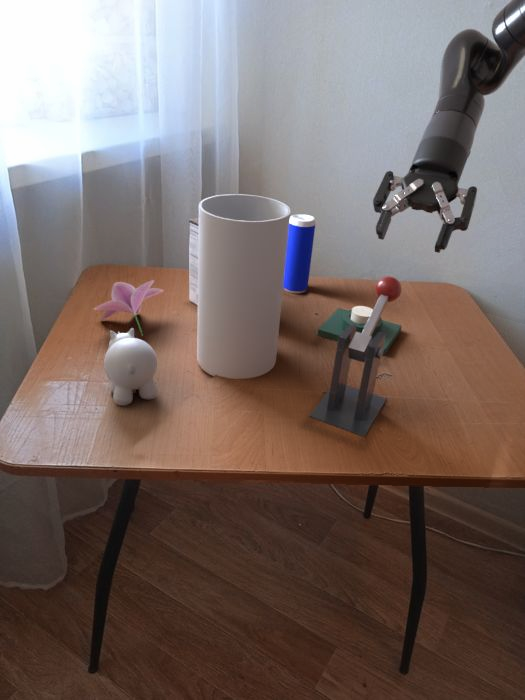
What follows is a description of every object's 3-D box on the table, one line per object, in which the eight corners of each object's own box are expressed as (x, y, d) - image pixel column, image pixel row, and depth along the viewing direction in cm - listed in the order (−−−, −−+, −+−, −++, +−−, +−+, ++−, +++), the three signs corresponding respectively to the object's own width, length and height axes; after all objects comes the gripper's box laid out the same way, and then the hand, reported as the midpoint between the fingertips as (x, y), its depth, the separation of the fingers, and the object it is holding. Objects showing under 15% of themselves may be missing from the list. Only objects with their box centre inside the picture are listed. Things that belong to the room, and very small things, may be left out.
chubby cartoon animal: (145, 359, 88) (143, 311, 84) (163, 403, 79) (162, 351, 74) (98, 365, 85) (93, 316, 81) (110, 411, 76) (106, 358, 72)
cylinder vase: (254, 393, 82) (267, 228, 69) (181, 369, 86) (181, 209, 74) (287, 355, 92) (303, 204, 79) (220, 335, 96) (225, 189, 83)
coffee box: (225, 289, 112) (228, 210, 104) (246, 300, 108) (251, 220, 100) (187, 300, 107) (188, 218, 99) (208, 313, 103) (210, 228, 95)
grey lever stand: (334, 387, 85) (346, 312, 78) (385, 405, 82) (402, 328, 76) (308, 422, 77) (319, 342, 71) (363, 442, 74) (380, 361, 68)
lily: (175, 321, 102) (157, 270, 100) (173, 327, 90) (152, 270, 88) (112, 342, 101) (93, 291, 99) (101, 351, 89) (79, 294, 88)
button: (376, 318, 98) (378, 309, 97) (369, 327, 95) (371, 318, 94) (354, 312, 99) (356, 303, 98) (347, 321, 96) (348, 312, 95)
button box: (399, 336, 101) (403, 316, 99) (382, 360, 93) (387, 339, 91) (337, 318, 105) (340, 298, 103) (316, 340, 97) (319, 319, 95)
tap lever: (380, 286, 82) (381, 268, 79) (404, 292, 81) (405, 274, 78) (343, 358, 75) (343, 342, 73) (369, 367, 74) (369, 350, 71)
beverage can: (311, 288, 116) (320, 217, 108) (300, 296, 112) (308, 223, 104) (289, 281, 118) (296, 211, 110) (277, 289, 114) (284, 217, 106)
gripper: (396, 127, 84) (359, 220, 81) (494, 142, 79) (458, 241, 76) (399, 158, 91) (365, 244, 88) (489, 173, 86) (456, 266, 83)
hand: (408, 243), depth 82 cm, fingers open, 8 cm apart
